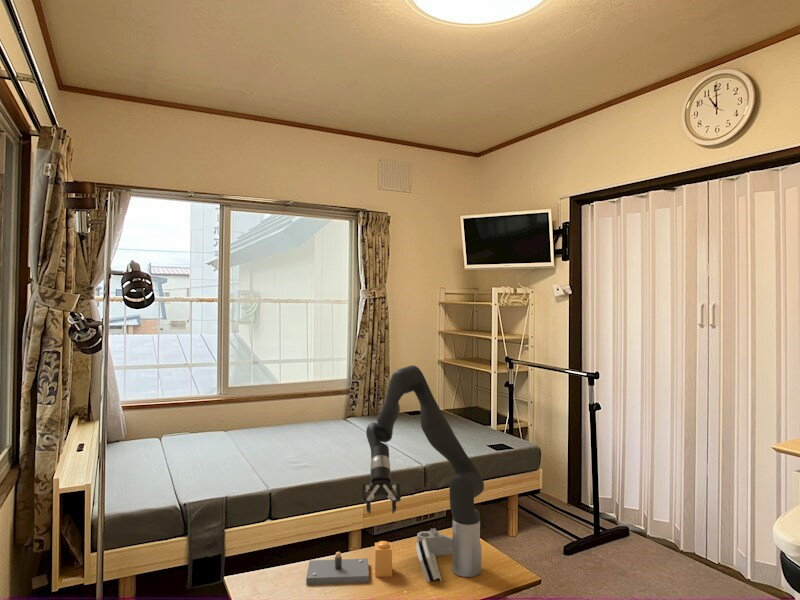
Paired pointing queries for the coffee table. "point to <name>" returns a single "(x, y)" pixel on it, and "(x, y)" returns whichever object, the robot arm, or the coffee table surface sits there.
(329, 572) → the riveted grey base plate
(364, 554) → the coffee table surface
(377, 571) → the orange dome-topped block
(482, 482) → the robot arm
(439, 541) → the grey mounting bracket
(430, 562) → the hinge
